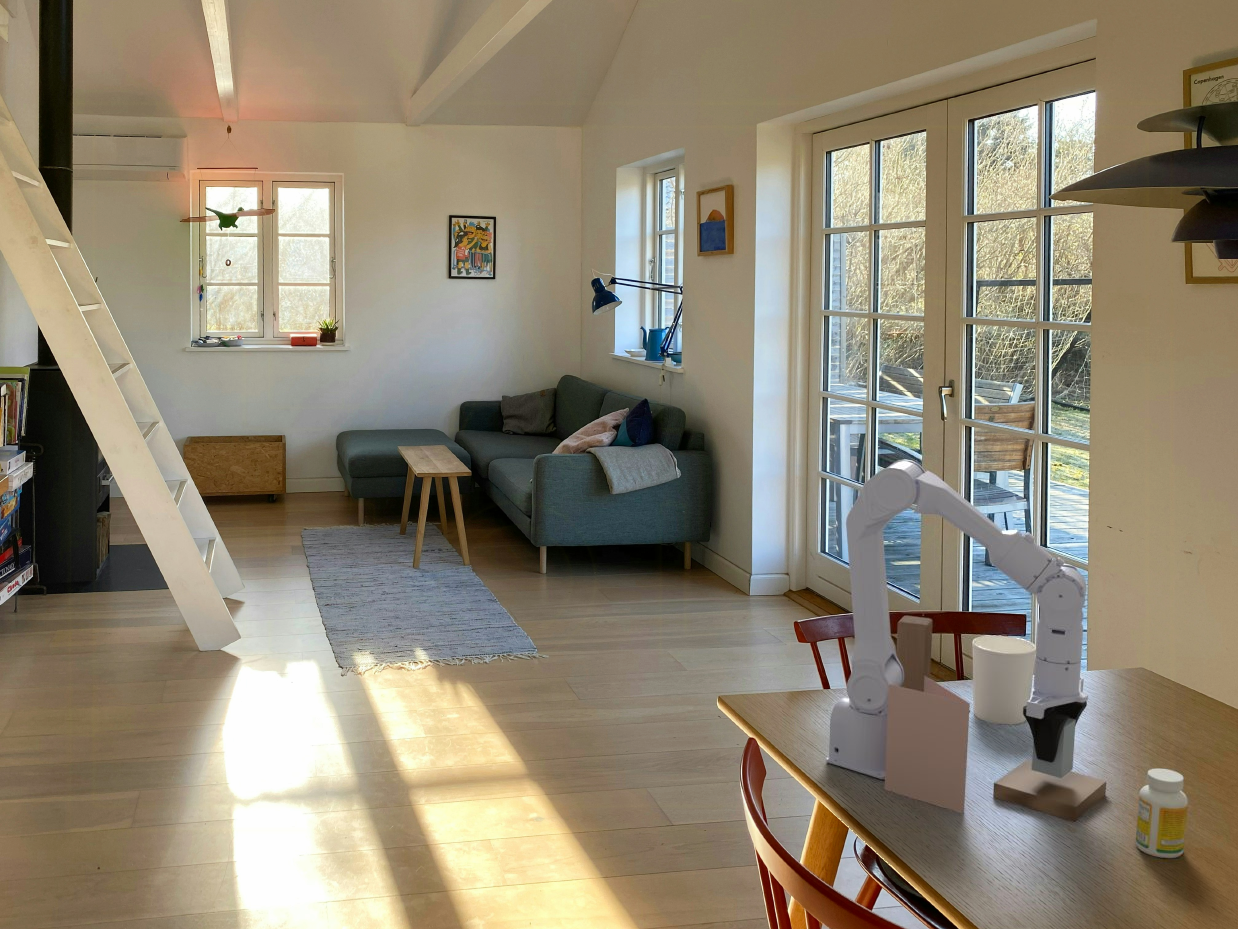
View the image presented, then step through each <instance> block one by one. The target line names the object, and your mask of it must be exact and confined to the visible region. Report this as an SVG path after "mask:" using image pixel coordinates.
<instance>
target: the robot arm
mask: <svg viewBox="0 0 1238 929" xmlns="http://www.w3.org/2000/svg"><path fill="white" fill-rule="evenodd" d="M912 505H914V506H915V509H914V511H913V513H914V514H919V515H937V516H940V518H942V519H944V520H946V521H947V522H948V523H950V524H951V525H952V526H954V527H955V528H957V529H958V530H960V531H961V532H962V533H964V534H965V535H967V536H968V537H970V539H972V540H974V541H975V542H977V543H978V544H980V545H981V546H982V547H984V548H985V549H986V550H987V552H988V556H989V563H990V564H991V565H992V566H994V567H995V568H996V569H997V570H999V571H1000V572H1001V573H1003V574H1004V575H1005V576H1006V577H1008V578H1009V579H1010V580H1012V582H1014V583H1015V584H1017V585H1018V586H1020V587H1021V588H1022V589H1023V590H1025V592H1027V593H1028V594H1029V593H1030V594H1033V595H1035V598H1036V602H1037V604H1038V606H1039V620H1038V621H1037V624H1036V626H1037V627H1036V641H1035V642H1036V643H1035V646H1036V655H1035V663H1034V671H1033V684H1032V687H1031V696H1030V700H1029V701H1027V705H1026V706H1024V707H1023V715H1024V717H1025V718H1026V722H1027V724H1028V726H1029V730H1030V732H1031V736H1032V740H1033V741H1034V746H1035V751H1036V756H1037V759H1039V760H1043V761H1047V762H1051V763H1052V762H1054V759H1055V757H1056V754H1057V749H1058V744H1059V739H1060V735H1061V732H1062V730H1063V727H1064V725H1065V723H1066V722H1067V720H1068V718H1071V719H1075V720H1076V723H1075V727H1076V726H1077V723H1078V721H1079V719H1080V717H1081V715H1082V714H1083V712H1084V711H1085V709H1086V707H1087V705H1088V704H1087V703H1088V702H1087V701H1088V699H1089V695H1088V694H1087V693H1083V692H1084V679H1085V678H1084V677H1081V668H1082V655H1083V654H1082V652H1083V651H1082V650H1083V638H1084V637H1083V635H1084V625H1083V624H1082V623H1083V621H1084V612H1083V608H1084V605H1085V604H1086V595H1087V582H1086V579H1085V577H1084V575H1083V574H1082V573H1081V572H1080V571H1079V570H1078V569H1077V567H1076V566H1074V565H1071V564H1067V563H1065V560H1064V559H1063V558H1061V557H1059V556H1058V557H1057V558H1056V557H1054V556H1053V555H1052V554H1050V553H1049V552H1047V550H1045V549H1043V548H1042V547H1041V546H1040V545H1038V544H1037V543H1036V542H1035V539H1036V537H1035V535H1033V534H1031V533H1030V532H1029V531H1027V532H1026V533H1025V534H1024V533H1023V532H1022V531H1020V530H1018V529H1014V530H1013V529H1012V530H1010V529H1009V530H1004V529H1002V528H1001V527H999V526H998V525H997V524H996V523H995V522H993V521H992V520H991V519H990V518H988V517H987V516H986V515H985V514H984V513H982V511H980V510H979V509H978V508H977V507H975V506H974V505H973V504H972V503H970V502H969V501H968V500H967V499H965V498H964V497H963V496H962V495H961V494H960V493H959V492H957V491H956V490H955V489H954V488H952V487H951V486H950V485H948V483H947V482H945V481H943V479H941V478H940V476H938V475H936V474H935V473H933V472H931V471H929V470H927V471H926V470H925V468H924V467H922V466H921V465H920V464H919V463H918V462H916V461H913V460H910V459H900V460H896V461H894V462H893V463H891V464H890V465H889V466H887V467H886V468H883V469H881V470H879V471H878V472H877V473H875V474H874V475H873V476H872V477H871V478H869V479H868V480H867V481H866V482H864V483H863V486H862V489H861V491H860V493H859V495H858V497H857V498H856V500H855V502H854V503H853V505H852V507H851V509H850V511H849V512H848V514H847V517H846V520H845V526H846V541H847V542H846V543H847V552H848V553H847V554H848V565H849V566H848V567H849V578H850V579H849V580H850V592H851V603H852V618H853V630H854V647H853V652H852V655H851V673H850V675H849V678H848V680H847V684H846V693H847V697H842V698H840V699H838V700H837V701H836V703H834V706H833V708H832V711H831V715H830V720H829V742H828V743H829V746H828V749H829V750H828V757H826V759H825V762H826V763H828V764H832V765H835V766H839V767H842V768H845V769H846V770H847V769H848V770H851V771H854V772H857V773H860V774H864V775H867V776H870V777H874V778H877V779H880V780H885V764H886V741H887V717H888V694H889V684H891V685H895V686H899V687H900V686H901V685H902V683H903V680H904V670H903V667H902V665H901V663H900V662H899V660H898V658H897V655H896V652H897V647H896V644H895V643H894V640H893V638H892V634H891V622H890V621H891V620H890V608H889V607H890V606H889V595H888V594H889V593H888V581H887V568H886V567H887V566H886V556H885V555H886V554H885V542H884V528H885V527H886V526H887V525H888V524H889V523H890V522H891V521H892V520H893V519H894V518H895V517H896V516H898V515H899V514H901V513H903V512H905V511H907V510H908V509H909V508H911V507H912Z"/></svg>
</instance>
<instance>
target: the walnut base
mask: <svg viewBox="0 0 1238 929" xmlns="http://www.w3.org/2000/svg"><path fill="white" fill-rule="evenodd" d="M1106 791H1107V781H1106V780H1103V779H1099V778H1096V777H1092V776H1089V775H1085V774H1081V773H1078V772H1074V771H1072V770H1071V771H1070V772H1068V773H1067V774H1066V775H1065V776H1063V777H1062V778H1059V777H1055V776H1051V775H1048V774H1044V773H1041V772H1037V771H1033V770H1032V760H1030V759H1026V760H1024V761H1023V762H1021V763H1020V764H1019V765H1017V766H1016V767H1014V768H1013V769H1011V770H1010V771H1009V772H1008V773H1006V774H1005V775H1003V776H1001V778H999V779H998V780H995V782H993V791H992V792H993V793H992V794H993V795H992V796H993V798H995V799H998V800H1002V801H1005V802H1008V803H1011V804H1015V805H1018V806H1022V807H1025V808H1028V809H1032V810H1034V811H1039V812H1042V813H1045V814H1049V815H1051V816H1055V817H1059V818H1062V819H1065V820H1068V821H1072V822H1076V821H1077V820H1079V819H1080V818H1081V817H1082V816H1083V815H1084V814H1085V813H1086V812H1088V811H1089V810H1090V809H1092V807H1094V806H1095V805H1096V804H1097V803H1098V802H1099V801H1101V800H1102V799H1103V798H1104V797H1105V796H1106V793H1107V792H1106Z"/></svg>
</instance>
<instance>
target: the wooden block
mask: <svg viewBox="0 0 1238 929" xmlns="http://www.w3.org/2000/svg"><path fill="white" fill-rule="evenodd" d="M933 625H934V624H933V619H932V618H929V617H922V616H921V617H919V616H913V615H904V616H902V618H901V619H900V620H899V621H898V622H897V633H896V655H897V658H898V660H899V662H900V663H901V665H902V667H903V670H904V680H903V683H902V685H901V686H900V687H904V688H908V689H912V690H916V691H920V692H924V676H926V677H928V678H929V679H931V664H932V644H933V643H932V642H933Z"/></svg>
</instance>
